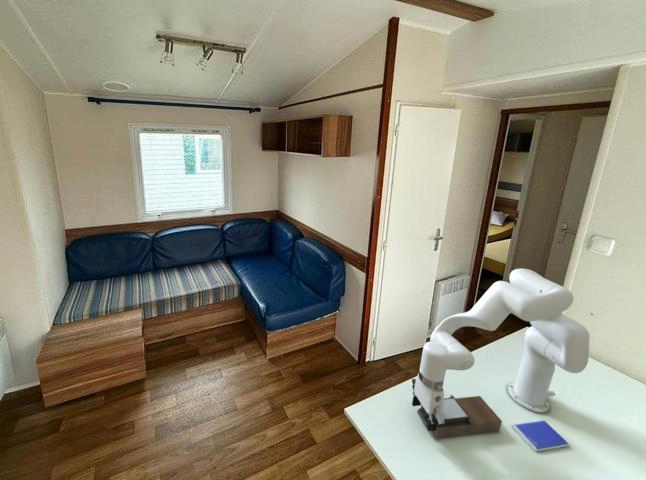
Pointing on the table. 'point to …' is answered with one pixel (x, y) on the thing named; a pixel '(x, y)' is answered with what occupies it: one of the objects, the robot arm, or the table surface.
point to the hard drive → (540, 435)
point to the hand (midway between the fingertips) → (423, 416)
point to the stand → (470, 420)
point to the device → (447, 413)
